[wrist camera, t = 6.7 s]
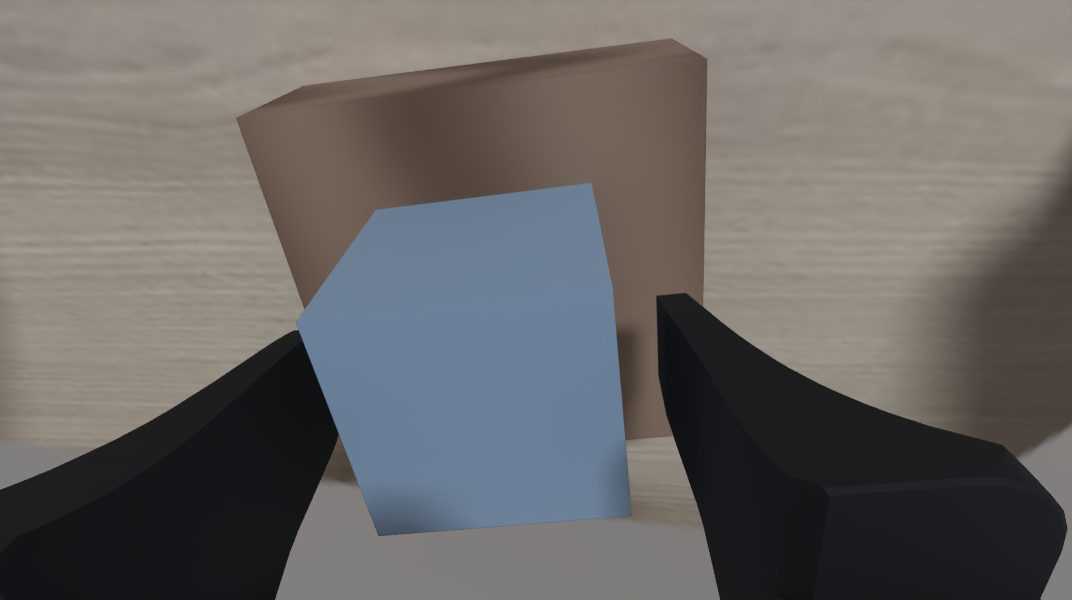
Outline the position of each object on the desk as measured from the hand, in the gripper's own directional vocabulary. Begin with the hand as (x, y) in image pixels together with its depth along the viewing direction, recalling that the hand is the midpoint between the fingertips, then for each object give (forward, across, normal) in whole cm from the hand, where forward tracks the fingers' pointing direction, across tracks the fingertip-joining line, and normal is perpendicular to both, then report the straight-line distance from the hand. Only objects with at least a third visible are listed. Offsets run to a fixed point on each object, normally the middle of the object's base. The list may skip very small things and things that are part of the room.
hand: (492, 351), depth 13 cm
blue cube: (+2, 0, 0) cm, 2 cm away
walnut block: (+6, 0, 0) cm, 6 cm away
